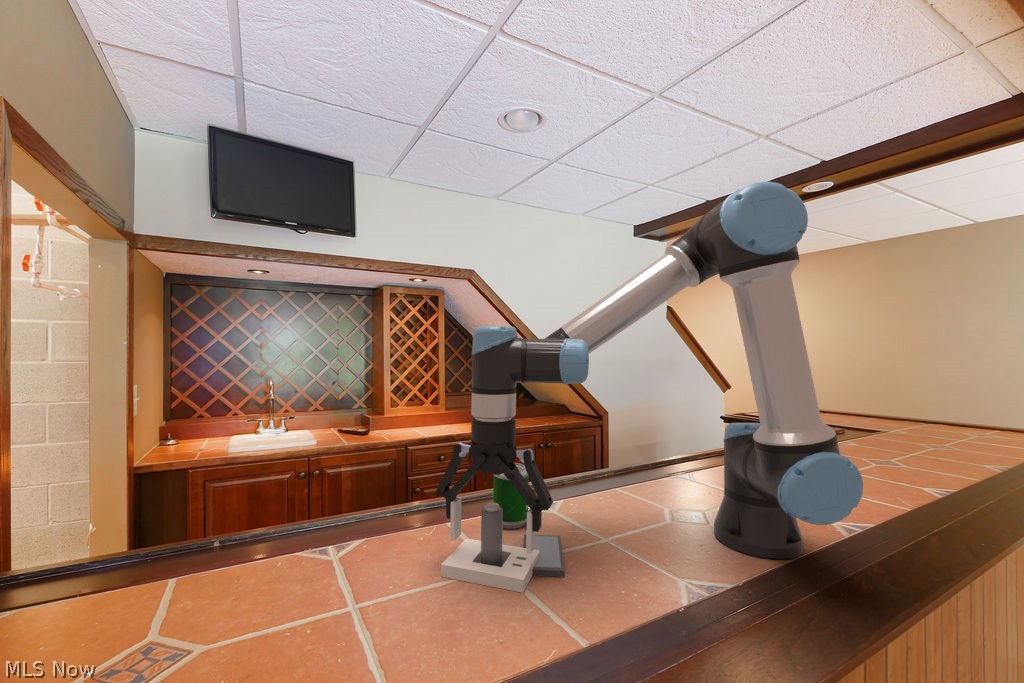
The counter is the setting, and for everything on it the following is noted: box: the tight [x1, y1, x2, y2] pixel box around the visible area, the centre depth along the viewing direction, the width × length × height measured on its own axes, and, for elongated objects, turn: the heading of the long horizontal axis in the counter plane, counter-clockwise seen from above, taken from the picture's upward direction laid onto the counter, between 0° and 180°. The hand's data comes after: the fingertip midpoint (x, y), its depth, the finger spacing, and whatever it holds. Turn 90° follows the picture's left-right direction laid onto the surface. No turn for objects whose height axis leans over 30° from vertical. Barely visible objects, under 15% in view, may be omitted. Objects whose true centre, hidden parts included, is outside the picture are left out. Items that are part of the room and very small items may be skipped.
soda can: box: [492, 462, 530, 530], centre depth 93 cm, size 8×8×12 cm
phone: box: [522, 534, 565, 578], centre depth 79 cm, size 7×13×1 cm, turn 177°
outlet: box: [440, 538, 540, 594], centre depth 74 cm, size 14×10×2 cm
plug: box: [480, 502, 504, 567], centre depth 74 cm, size 4×4×11 cm
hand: (492, 543), depth 74 cm, fingers open, 13 cm apart
